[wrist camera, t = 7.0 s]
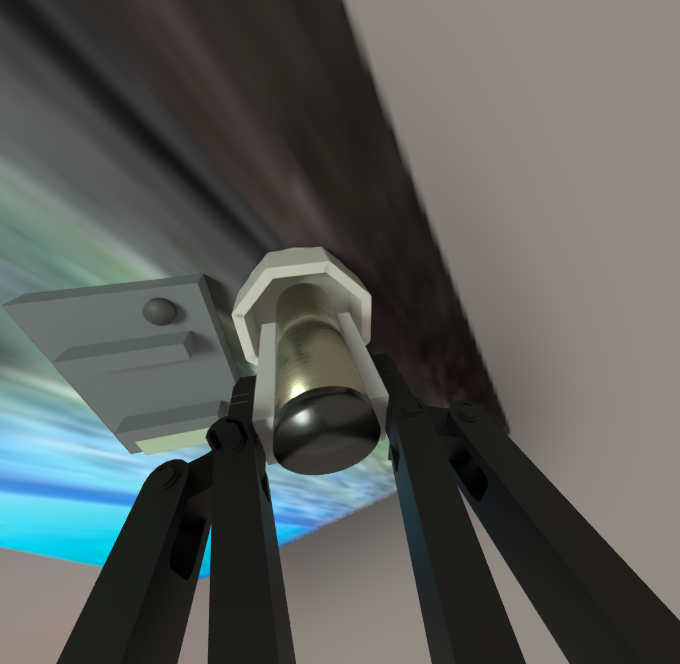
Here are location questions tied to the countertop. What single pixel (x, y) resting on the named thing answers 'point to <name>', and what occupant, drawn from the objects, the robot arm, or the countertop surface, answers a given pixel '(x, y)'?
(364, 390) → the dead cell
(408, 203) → the countertop surface
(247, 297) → the white octagonal bowl
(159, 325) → the cradle
